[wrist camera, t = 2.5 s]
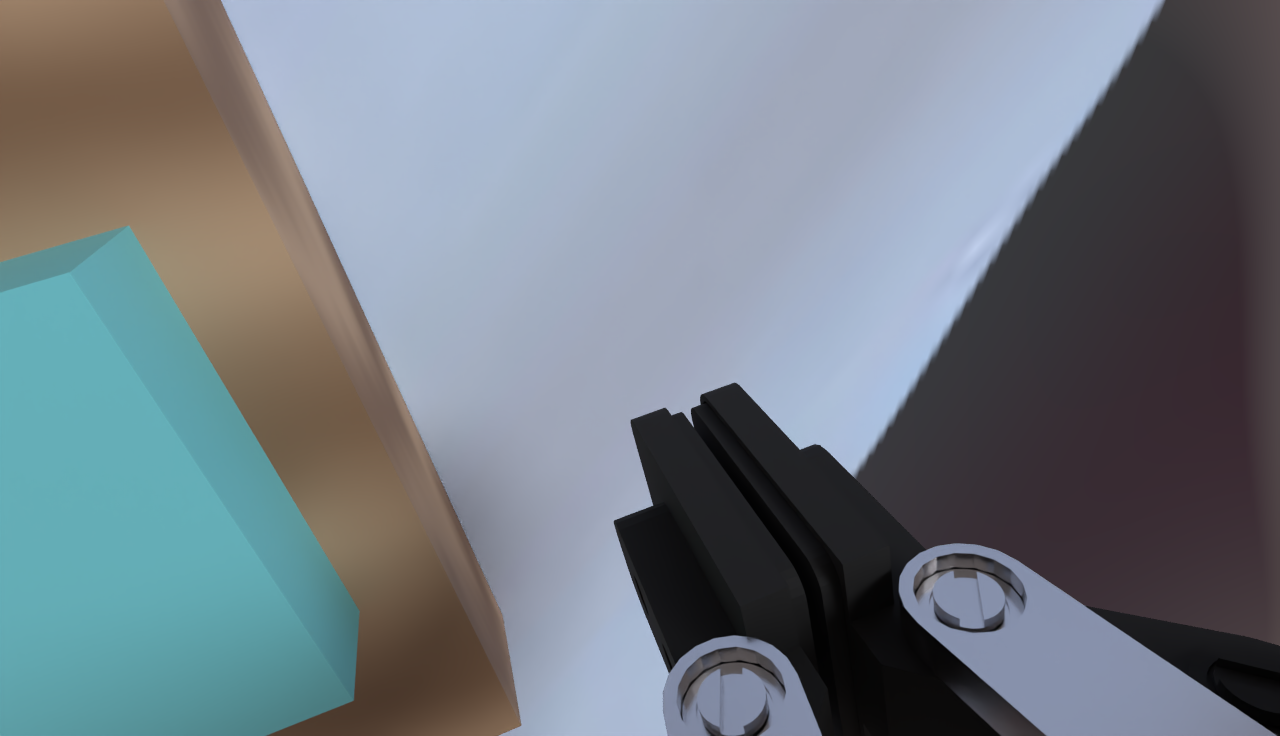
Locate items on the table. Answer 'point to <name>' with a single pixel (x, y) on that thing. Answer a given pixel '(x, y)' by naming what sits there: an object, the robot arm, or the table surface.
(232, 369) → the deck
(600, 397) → the table surface
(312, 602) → the turquoise foam pad
